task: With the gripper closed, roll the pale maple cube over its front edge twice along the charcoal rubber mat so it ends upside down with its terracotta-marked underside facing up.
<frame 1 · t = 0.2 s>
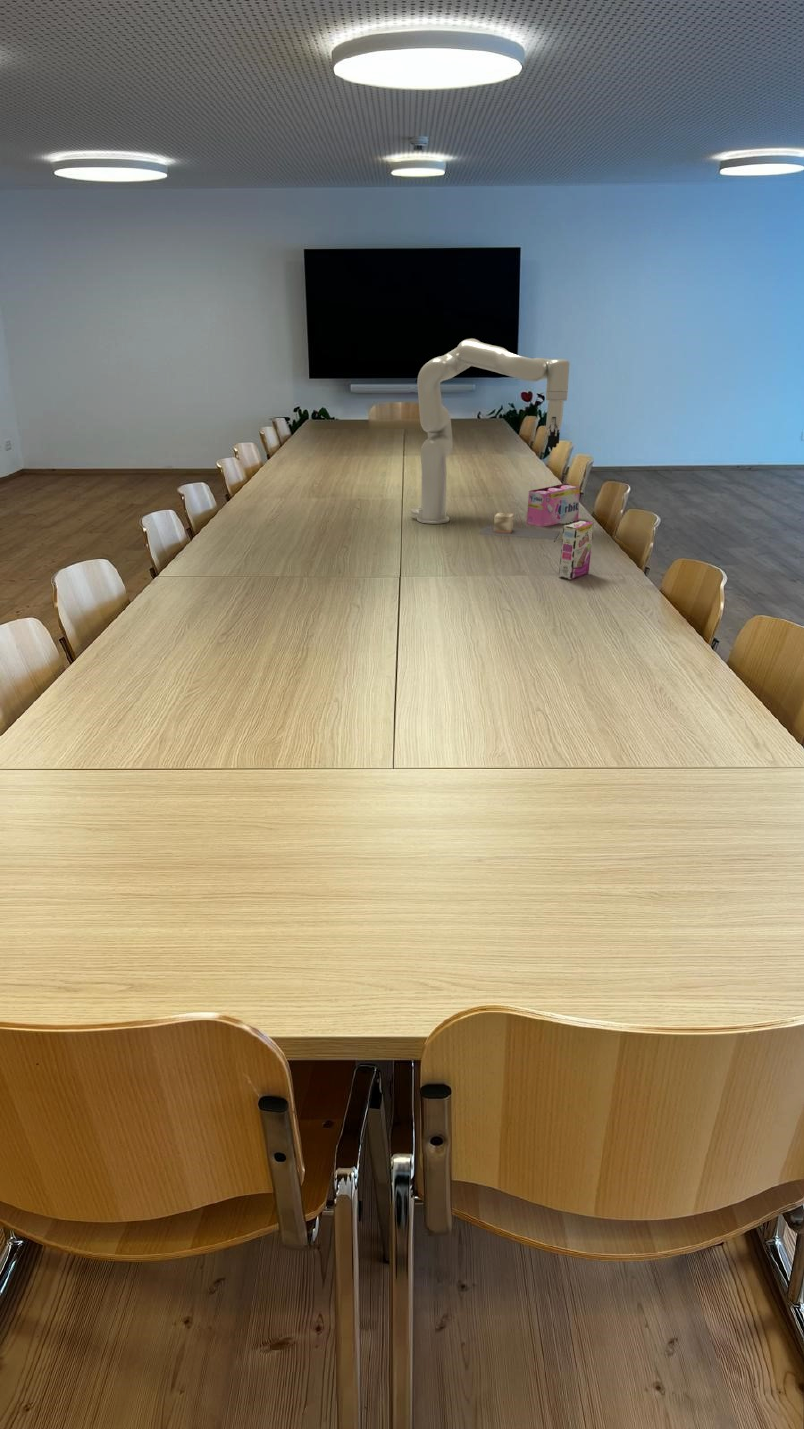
hand: (553, 445, 354), 31 cm above the table, fingers open, 9 cm apart
maple cube: (503, 531, 359), point 1 cm above the table, touching rubber mat
rubber mat: (519, 535, 358), on the table
gum box: (552, 524, 376), on the table
candy bar box: (574, 576, 308), on the table
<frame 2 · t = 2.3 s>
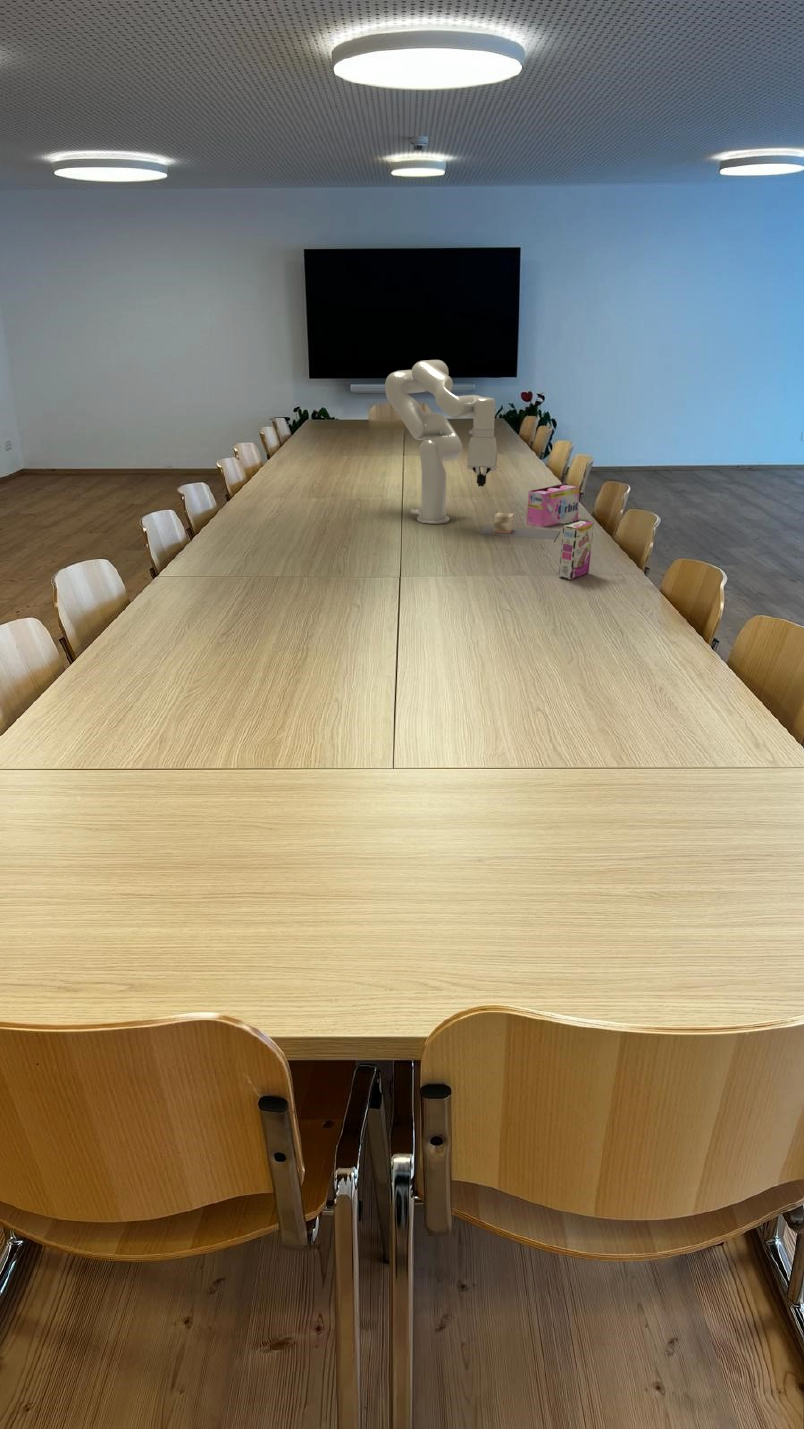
hand: (481, 485, 354), 17 cm above the table, fingers closed
nothing on the table moved.
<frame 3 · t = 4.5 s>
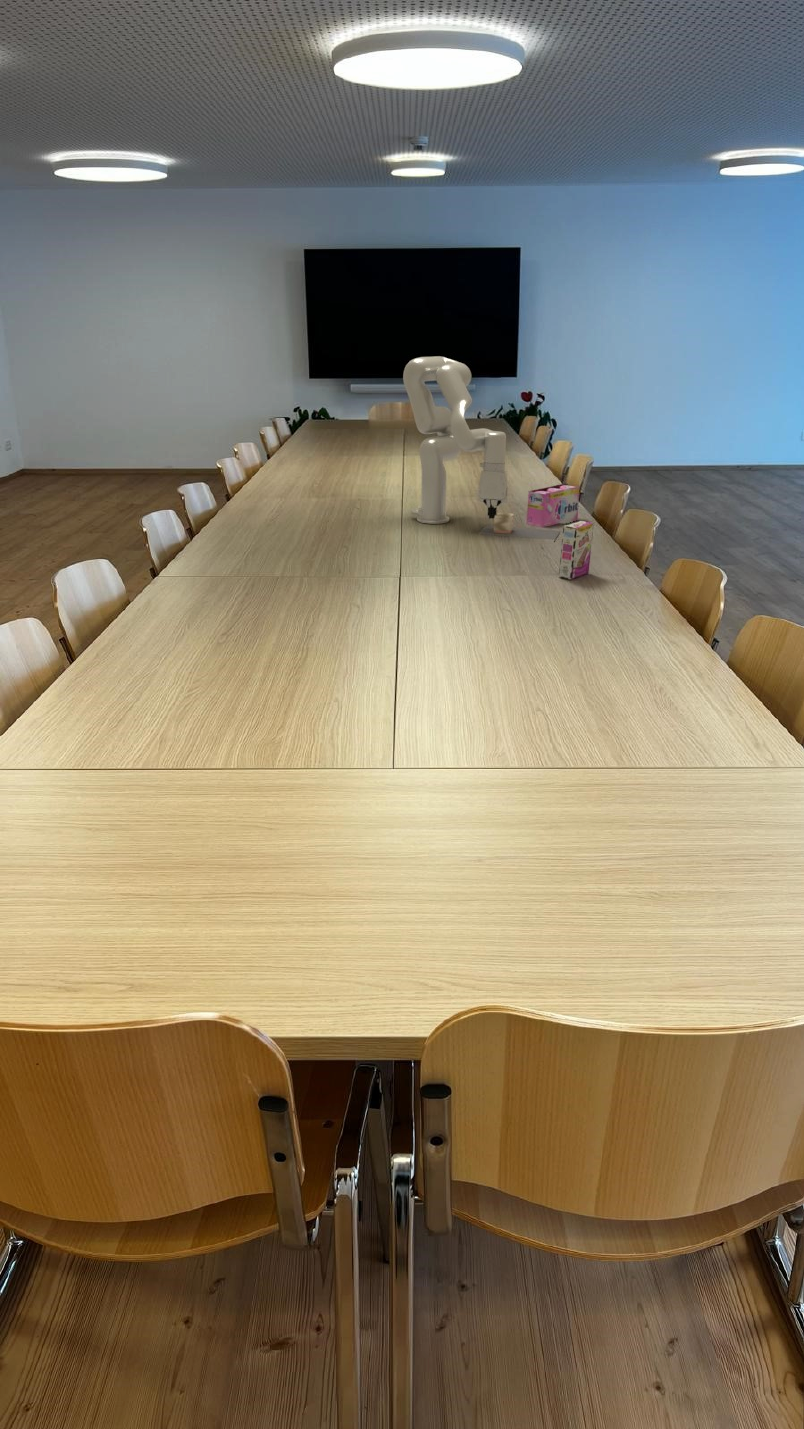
hand: (491, 517, 358), 6 cm above the table, fingers closed
maple cube: (503, 531, 359), point 1 cm above the table, touching gripper, rubber mat
everything else where it was.
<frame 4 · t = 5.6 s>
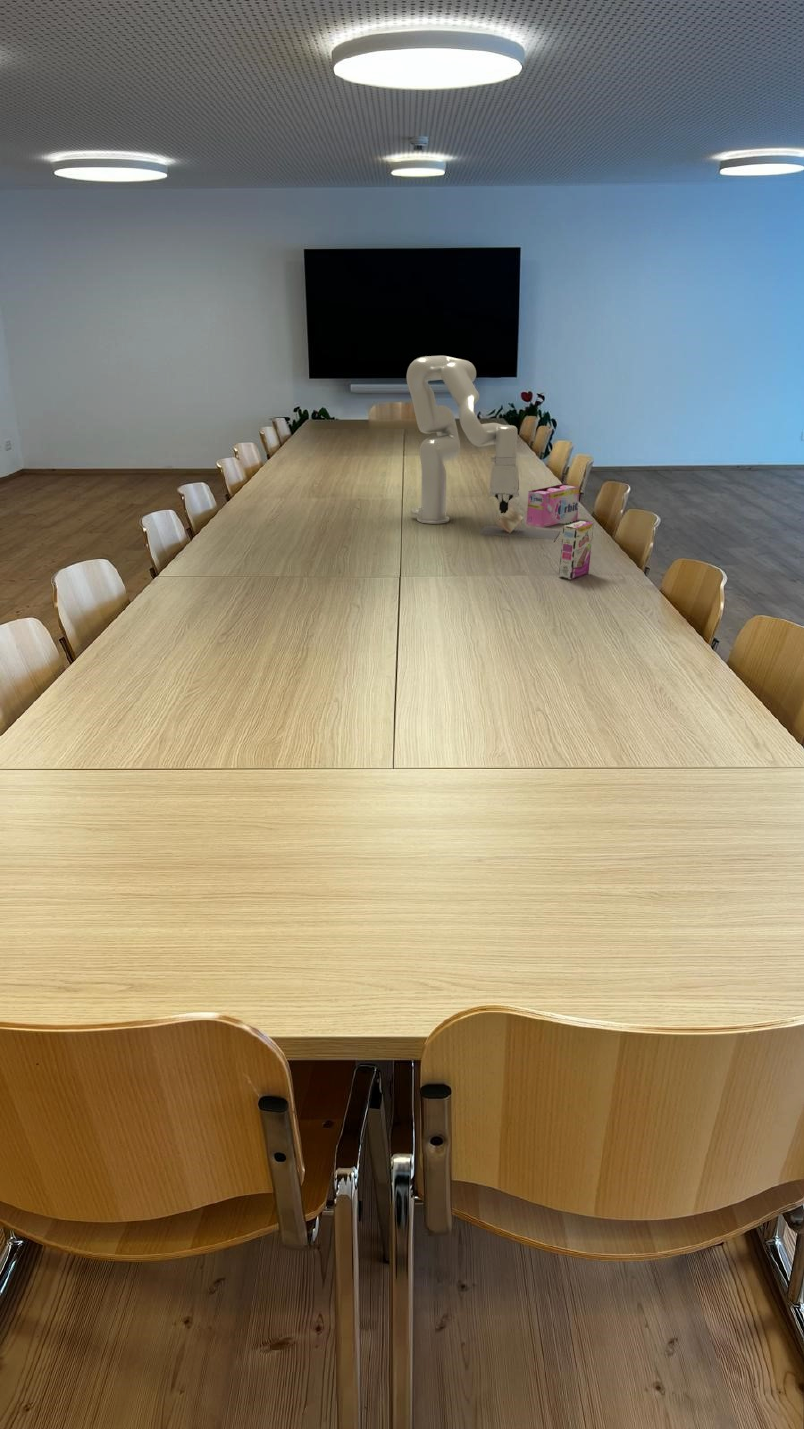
hand: (503, 512, 356), 8 cm above the table, fingers closed
maple cube: (505, 526, 358), point 3 cm above the table, tilted 36°, touching gripper, rubber mat
everything else where it was.
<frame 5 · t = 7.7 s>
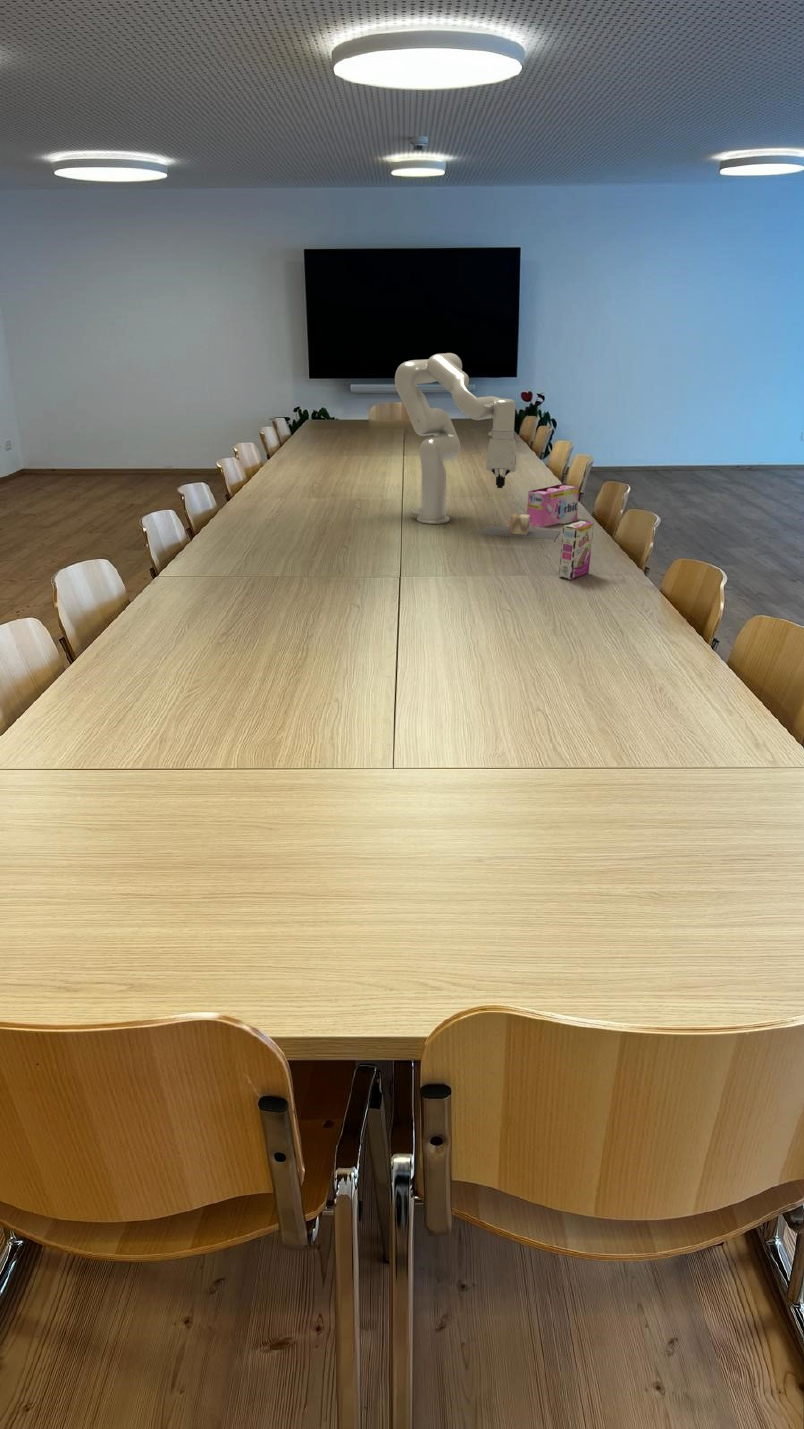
hand: (500, 487, 353), 17 cm above the table, fingers closed
maple cube: (511, 523, 357), point 4 cm above the table, tilted 90°, touching rubber mat
everything else where it was.
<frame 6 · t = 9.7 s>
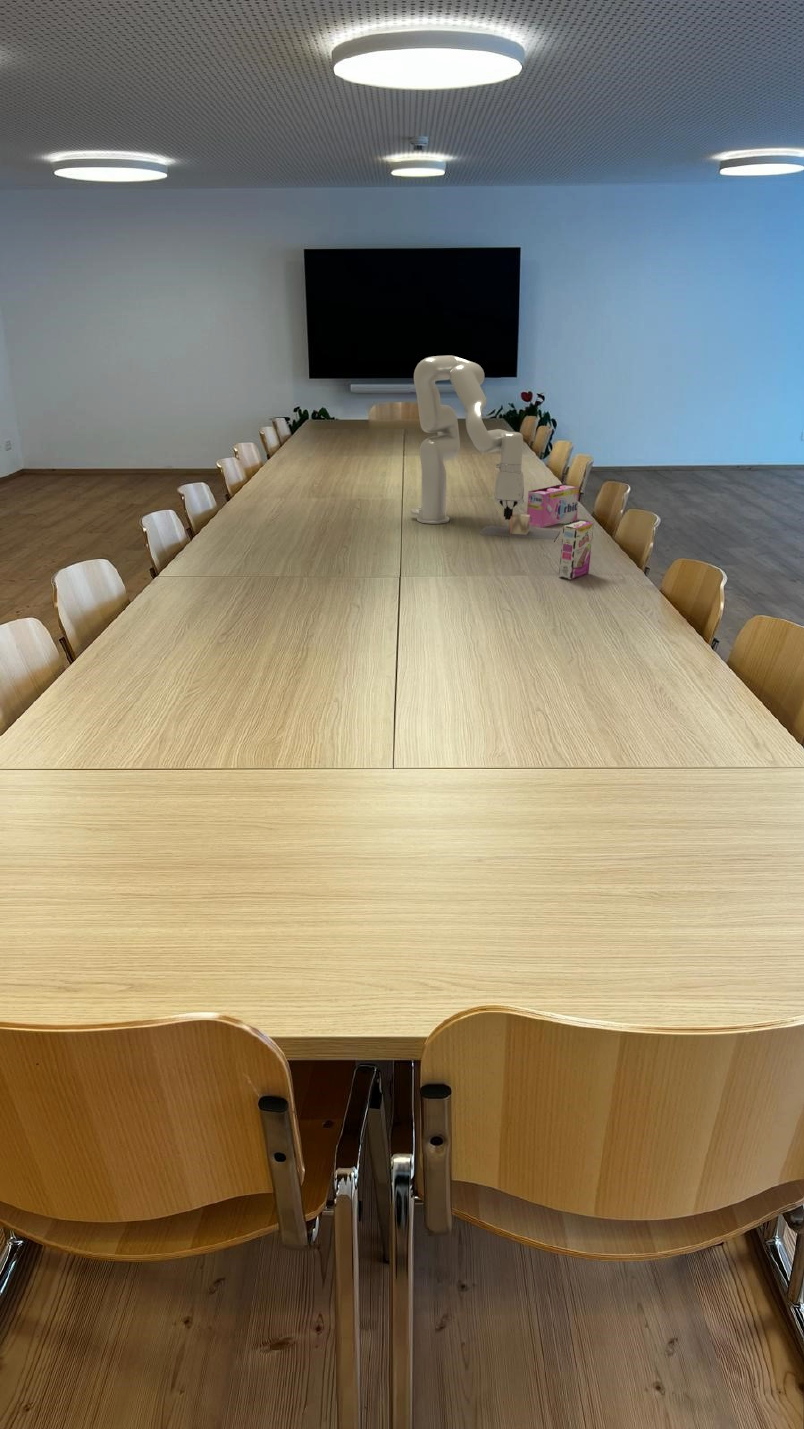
hand: (507, 518, 356), 6 cm above the table, fingers closed
maple cube: (511, 523, 357), point 4 cm above the table, tilted 90°, touching gripper, rubber mat
everything else where it was.
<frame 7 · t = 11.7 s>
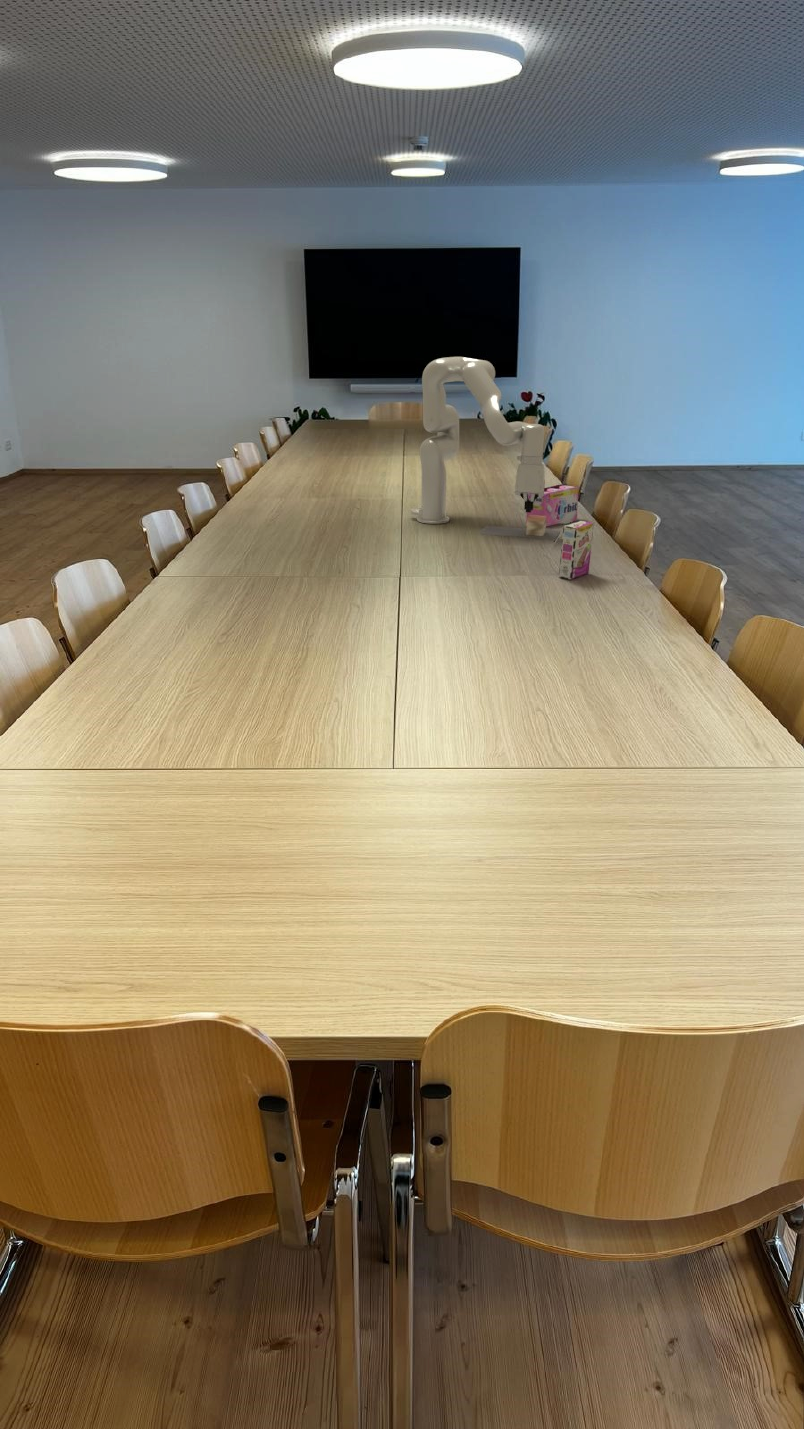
hand: (528, 511, 353), 9 cm above the table, fingers closed
maple cube: (536, 517, 353), point 7 cm above the table, tilted 180°, touching rubber mat
everything else where it was.
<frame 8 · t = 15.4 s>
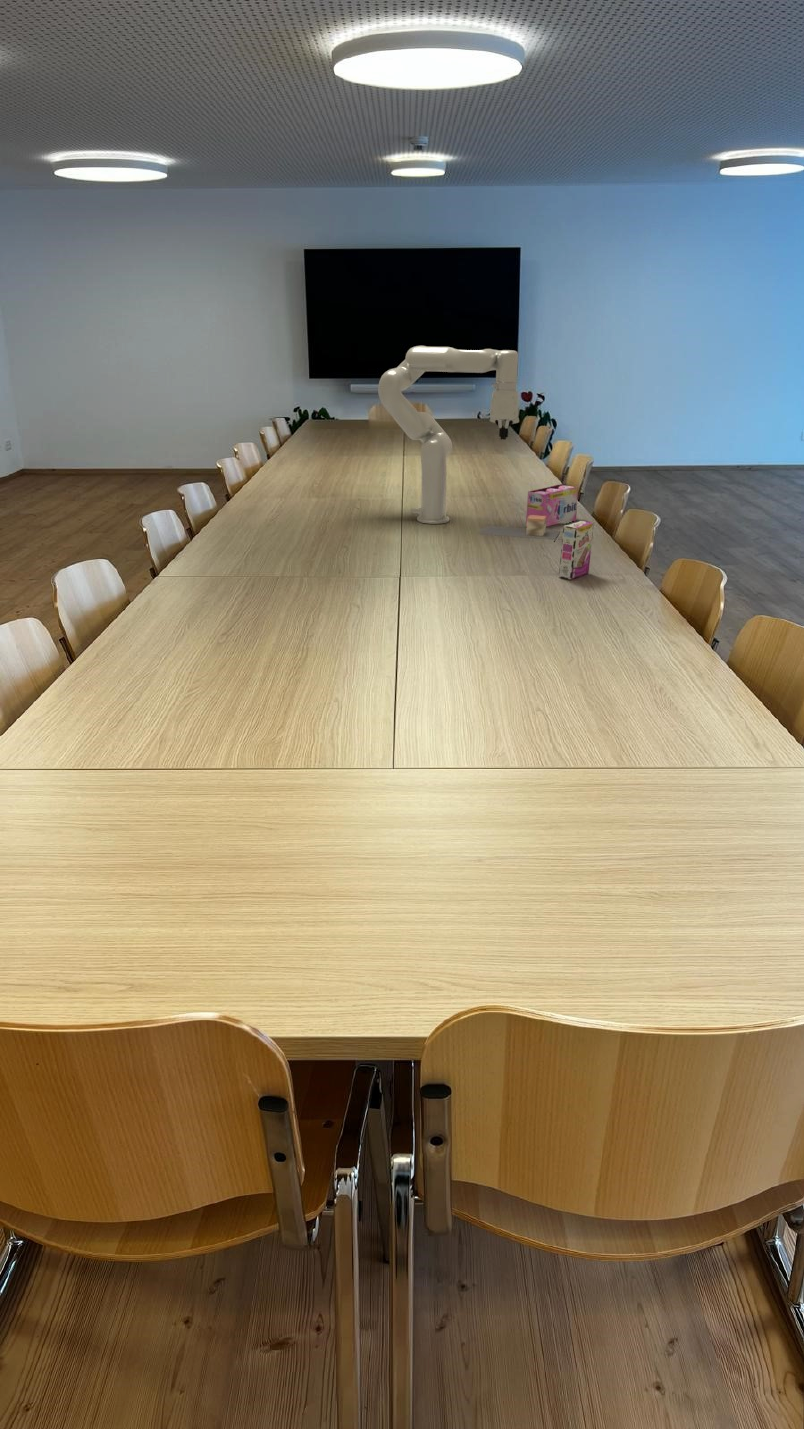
hand: (503, 439, 359), 32 cm above the table, fingers closed
at the end: maple cube tilted 180°; maple cube inside the target area (0.5 cm from its centre), point 7.0 cm above the table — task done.
